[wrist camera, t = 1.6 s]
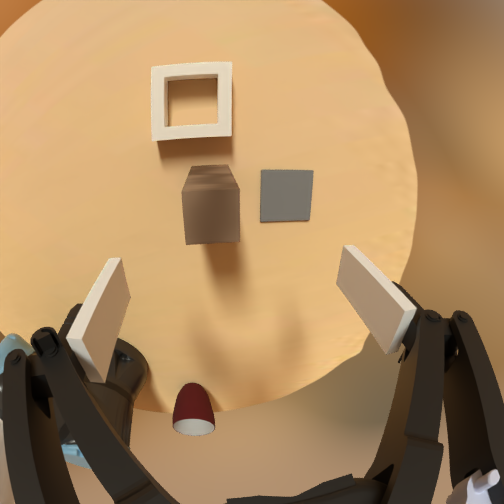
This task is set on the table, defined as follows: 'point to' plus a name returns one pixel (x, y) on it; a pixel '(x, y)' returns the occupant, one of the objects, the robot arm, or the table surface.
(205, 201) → the peg
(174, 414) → the mug
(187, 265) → the table surface
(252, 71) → the table surface
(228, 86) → the socket block
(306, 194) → the mat
